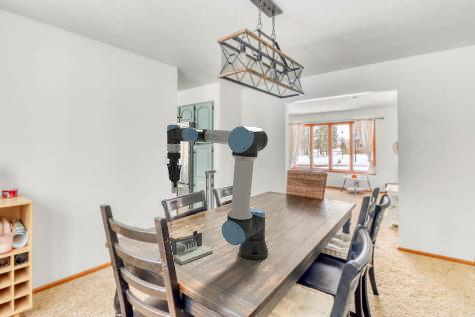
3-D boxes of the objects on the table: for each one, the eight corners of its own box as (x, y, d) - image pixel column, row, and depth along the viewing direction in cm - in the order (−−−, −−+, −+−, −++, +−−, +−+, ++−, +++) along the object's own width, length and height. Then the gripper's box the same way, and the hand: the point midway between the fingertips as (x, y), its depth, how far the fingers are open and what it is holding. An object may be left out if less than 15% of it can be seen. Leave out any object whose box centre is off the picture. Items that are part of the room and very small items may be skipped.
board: (212, 252, 124) (212, 249, 124) (182, 264, 112) (182, 261, 112) (189, 240, 140) (189, 237, 140) (160, 249, 128) (160, 246, 128)
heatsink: (197, 248, 125) (197, 241, 125) (184, 253, 120) (184, 245, 120) (188, 243, 132) (188, 236, 132) (175, 247, 126) (175, 240, 126)
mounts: (202, 245, 130) (202, 232, 129) (174, 254, 118) (174, 240, 118) (196, 242, 133) (196, 230, 133) (169, 251, 122) (169, 237, 122)
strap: (200, 238, 130) (200, 234, 130) (176, 243, 120) (177, 239, 120) (197, 236, 132) (197, 233, 132) (173, 241, 122) (174, 238, 122)
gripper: (185, 152, 134) (186, 193, 135) (174, 151, 143) (174, 190, 145) (173, 152, 129) (174, 195, 130) (162, 151, 138) (162, 192, 139)
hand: (174, 192), depth 137 cm, fingers closed
